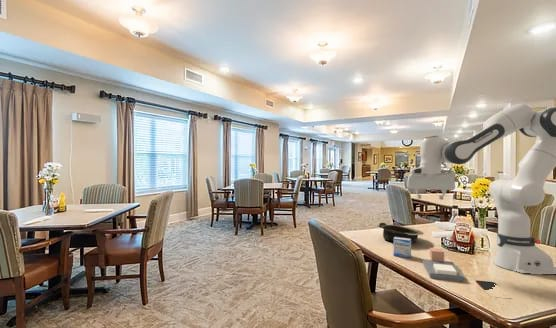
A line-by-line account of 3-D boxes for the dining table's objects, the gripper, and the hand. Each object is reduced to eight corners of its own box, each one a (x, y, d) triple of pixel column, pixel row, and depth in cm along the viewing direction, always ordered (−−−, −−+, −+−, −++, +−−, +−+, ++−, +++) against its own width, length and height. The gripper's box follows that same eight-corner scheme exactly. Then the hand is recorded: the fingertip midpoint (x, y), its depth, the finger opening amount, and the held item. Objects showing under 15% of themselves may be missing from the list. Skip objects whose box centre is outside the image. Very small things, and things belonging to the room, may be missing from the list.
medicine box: (393, 255, 142) (393, 238, 142) (394, 253, 146) (394, 236, 146) (410, 258, 138) (410, 240, 138) (411, 255, 142) (411, 238, 142)
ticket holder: (452, 266, 128) (452, 258, 128) (464, 281, 112) (464, 272, 112) (422, 263, 131) (423, 255, 131) (430, 277, 115) (430, 269, 115)
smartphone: (490, 296, 99) (474, 279, 113) (490, 298, 99) (474, 281, 113) (513, 299, 98) (494, 281, 111) (513, 300, 98) (494, 283, 111)
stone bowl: (370, 239, 169) (371, 224, 170) (390, 235, 186) (390, 221, 186) (413, 248, 151) (413, 231, 151) (430, 242, 168) (431, 227, 168)
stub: (441, 257, 133) (441, 248, 133) (444, 260, 128) (444, 252, 128) (429, 256, 134) (429, 247, 134) (431, 259, 130) (431, 251, 130)
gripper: (453, 170, 135) (453, 199, 136) (406, 169, 142) (406, 197, 142) (457, 170, 129) (457, 200, 130) (408, 170, 136) (407, 198, 136)
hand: (430, 199), depth 136 cm, fingers open, 8 cm apart
